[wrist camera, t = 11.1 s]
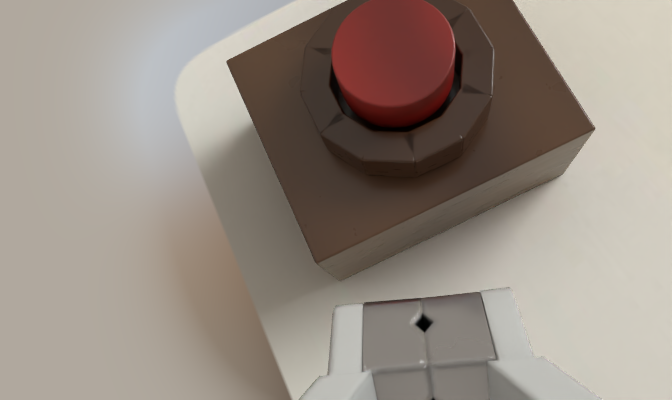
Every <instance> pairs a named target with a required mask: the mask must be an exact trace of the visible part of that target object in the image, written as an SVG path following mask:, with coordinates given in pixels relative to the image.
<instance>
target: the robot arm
mask: <svg viewBox="0 0 672 400" xmlns="http://www.w3.org/2000/svg"><path fill="white" fill-rule="evenodd" d="M299 400H603V399H601V398H600V397H599V396H597V395H596V394H595V393H593V392H592V391H590V390H589V389H588V388H586V387H585V386H584V385H582V384H581V383H579V382H578V381H577V380H575V379H574V378H573V377H571V376H570V375H569V374H567V373H566V372H564V371H563V370H562V369H560V368H559V367H558V366H556V365H555V364H554V363H552V362H551V361H549V360H548V359H547V358H545V357H534V354H533V351H532V348H531V345H530V342H529V339H528V336H527V333H526V330H525V327H524V324H523V321H522V318H521V315H520V311H519V308H518V305H517V302H516V299H515V296H514V293H513V291H512V290H511V289H510V288H509V287H507V288H500V289H492V290H484V291H480V292H473V293H464V294H454V295H445V296H436V297H427V298H415V299H403V300H391V301H378V302H366V303H364V304H363V303H359V304H347V305H336V306H335V308H334V310H333V316H332V328H331V340H330V352H329V363H328V375H327V376H319V377H318V378H317V379H316V380H315V381H314V383H313V384H312V385H311V386H310V387H309V388H308V389H307V391H306V392H305V393H304V394H303V395H302V396H301V397H300V399H299Z"/></svg>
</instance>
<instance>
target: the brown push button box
mask: <svg viewBox="0 0 672 400" xmlns="http://www.w3.org/2000/svg"><path fill="white" fill-rule="evenodd" d="M367 1H370V0H347V1H345V2H343V3H341V4H339V5H337V6H335V7H333V8H331V9H329V10H327V11H325V12H323V13H321V14H319V15H317V16H315V17H313V18H311V19H309V20H307V21H305V22H303V23H301V24H299V25H297V26H295V27H293V28H291V29H289V30H287V31H285V32H283V33H281V34H279V35H277V36H275V37H273V38H271V39H269V40H267V41H265V42H263V43H261V44H259V45H257V46H255V47H253V48H251V49H249V50H247V51H245V52H243V53H241V54H239V55H237V56H235V57H233V58H231V59H229V60H227V65H228V67H229V69H230V72H231V74H232V76H233V78H234V81H235V83H236V85H237V87H238V90H239V92H240V94H241V96H242V99H243V101H244V103H245V105H246V108H247V110H248V112H249V114H250V116H251V119H252V121H253V123H254V125H255V128H256V130H257V132H258V134H259V137H260V139H261V141H262V143H263V146H264V148H265V150H266V152H267V155H268V157H269V159H270V161H271V164H272V166H273V168H274V170H275V173H276V175H277V177H278V179H279V182H280V184H281V186H282V188H283V191H284V193H285V195H286V197H287V200H288V202H289V204H290V206H291V209H292V211H293V213H294V215H295V218H296V220H297V222H298V224H299V226H300V229H301V231H302V233H303V235H304V238H305V240H306V242H307V244H308V247H309V249H310V251H311V253H312V256H313V258H314V260H315V262H316V263H317V264H318V265H319V266H321V267H322V268H323V269H325V270H326V271H327V272H329V273H330V274H331V275H333V276H334V277H335V278H337V279H338V280H339V281H341V280H343V279H345V278H348V277H350V276H352V275H354V274H356V273H358V272H360V271H362V270H364V269H366V268H368V267H370V266H373V265H375V264H377V263H379V262H381V261H383V260H385V259H387V258H389V257H391V256H393V255H395V254H397V253H400V252H402V251H404V250H406V249H408V248H410V247H412V246H414V245H416V244H418V243H420V242H422V241H424V240H427V239H429V238H431V237H433V236H435V235H437V234H439V233H441V232H443V231H445V230H447V229H449V228H452V227H454V226H456V225H458V224H460V223H462V222H464V221H466V220H468V219H470V218H472V217H474V216H476V215H479V214H481V213H483V212H485V211H487V210H489V209H491V208H493V207H495V206H497V205H499V204H501V203H503V202H506V201H508V200H510V199H512V198H514V197H516V196H518V195H520V194H522V193H524V192H526V191H528V190H530V189H533V188H535V187H537V186H539V185H541V184H543V183H545V182H547V181H549V180H551V179H553V178H555V177H558V176H560V175H562V174H563V173H564V172H565V170H566V169H567V168H568V166H569V165H570V164H571V162H572V161H573V159H574V158H575V157H576V155H577V154H578V152H579V151H580V150H581V148H582V147H583V145H584V144H585V143H586V141H587V140H588V139H589V137H590V136H591V134H592V133H593V132H594V130H595V127H594V125H593V124H592V122H591V120H590V119H589V117H588V116H587V114H586V113H585V111H584V110H583V108H582V107H581V105H580V103H579V102H578V100H577V99H576V97H575V96H574V94H573V93H572V91H571V90H570V88H569V86H568V85H567V83H566V82H565V80H564V79H563V77H562V76H561V74H560V73H559V71H558V69H557V68H556V66H555V65H554V63H553V62H552V60H551V59H550V57H549V56H548V54H547V52H546V51H545V49H544V48H543V46H542V45H541V43H540V42H539V40H538V38H537V37H536V35H535V34H534V32H533V31H532V29H531V28H530V26H529V25H528V23H527V21H526V20H525V18H524V17H523V15H522V14H521V12H520V11H519V9H518V8H517V6H516V4H515V3H514V1H513V0H424V1H426V2H428V3H429V4H431V5H433V6H434V7H435V8H437V9H438V10H439V11H440V12H441V13H442V14H443V15H444V16H445V18H446V19H447V21H448V22H449V24H450V26H451V28H452V31H453V34H454V38H455V47H456V52H455V66H454V78H453V84H452V87H451V90H450V93H449V95H448V97H447V98H446V100H445V102H444V103H443V104H442V106H441V107H440V108H439V109H438V110H437V111H436V112H435V113H434V114H432V115H431V116H430V117H428V118H426V119H425V120H423V121H421V122H419V123H416V124H413V125H410V126H406V127H399V128H389V127H382V126H377V125H374V124H371V123H369V122H367V121H365V120H363V119H362V118H360V117H359V116H357V115H356V114H355V113H354V112H353V111H352V110H351V109H350V107H349V106H348V105H347V103H346V101H345V100H344V97H343V95H342V93H341V90H340V87H339V84H338V81H337V79H336V76H335V73H334V70H333V66H332V60H331V49H332V44H333V40H334V37H335V34H336V32H337V30H338V28H339V26H340V25H341V23H342V22H343V21H344V19H345V18H346V17H347V16H348V15H349V14H350V13H351V12H352V11H353V10H355V9H356V8H357V7H359V6H360V5H362V4H364V3H365V2H367Z"/></svg>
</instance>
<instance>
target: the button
mask: <svg viewBox="0 0 672 400" xmlns="http://www.w3.org/2000/svg"><path fill="white" fill-rule="evenodd" d="M455 52H456V47H455V38H454V34H453V31H452V28H451V26H450V24H449V22H448V21H447V19H446V18H445V16H444V15H443V14H442V13H441V12H440V11H439V10H438V9H437V8H435V7H434V6H433V5H431V4H429V3H428V2H426V1H424V0H370V1H367V2H365V3H364V4H362V5H360V6H359V7H357V8H356V9H355V10H353V11H352V12H351V13H350V14H349V15H348V16H347V17H346V18H345V19H344V21H343V22H342V23H341V25H340V26H339V28H338V30H337V32H336V34H335V37H334V40H333V44H332V49H331V60H332V66H333V70H334V73H335V76H336V79H337V81H338V84H339V87H340V90H341V93H342V95H343V97H344V100H345V101H346V103H347V105H348V106H349V107H350V109H351V110H352V111H353V112H354V113H355V114H356V115H357V116H359V117H360V118H362V119H363V120H365V121H367V122H369V123H371V124H374V125H377V126H382V127H389V128H399V127H406V126H410V125H413V124H416V123H419V122H421V121H423V120H425V119H426V118H428V117H430V116H431V115H432V114H434V113H435V112H436V111H437V110H438V109H439V108H440V107H441V106H442V104H443V103H444V102H445V100H446V98H447V97H448V95H449V93H450V90H451V87H452V84H453V78H454V66H455Z"/></svg>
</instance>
